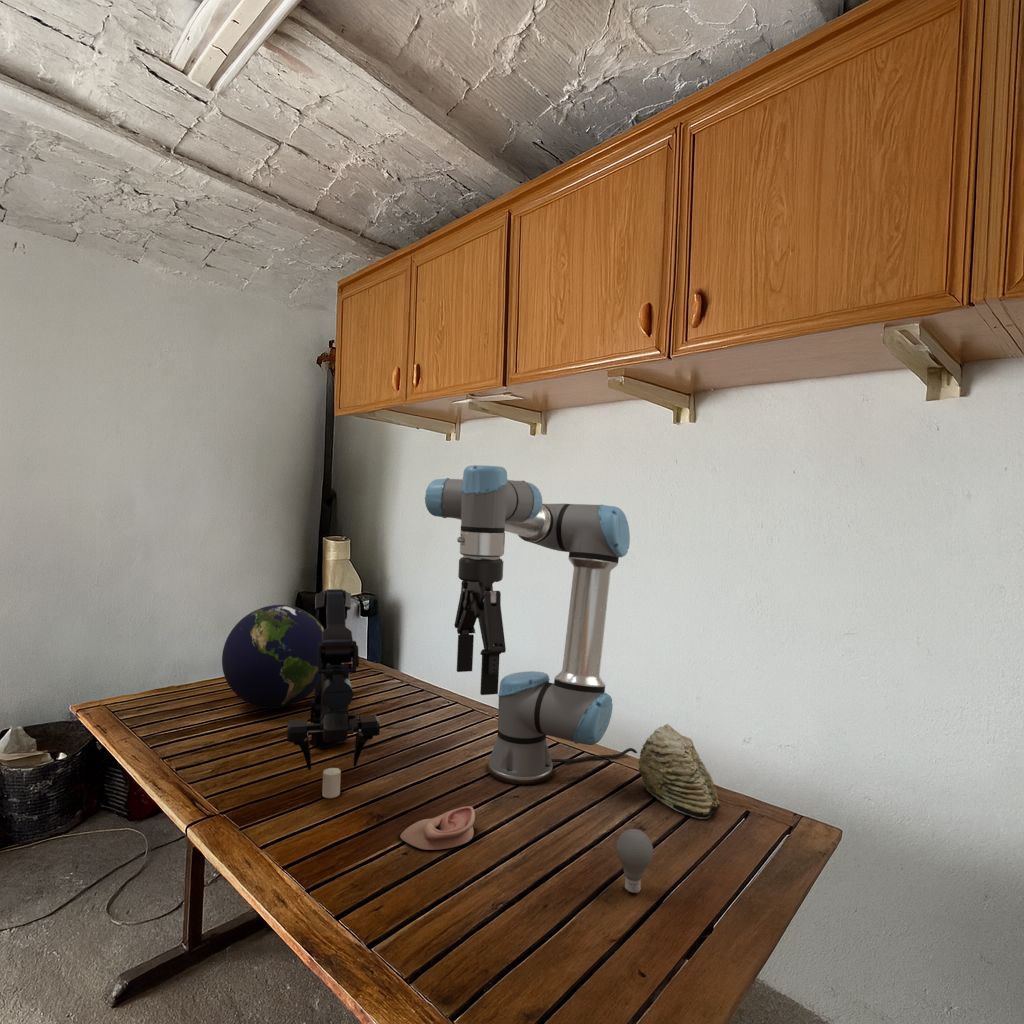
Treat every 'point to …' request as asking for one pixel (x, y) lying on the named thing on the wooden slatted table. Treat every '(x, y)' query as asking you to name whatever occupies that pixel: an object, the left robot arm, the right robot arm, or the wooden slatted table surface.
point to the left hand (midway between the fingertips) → (332, 767)
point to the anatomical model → (442, 830)
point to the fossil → (677, 774)
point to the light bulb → (634, 857)
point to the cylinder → (331, 782)
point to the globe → (273, 656)
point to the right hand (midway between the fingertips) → (476, 682)
